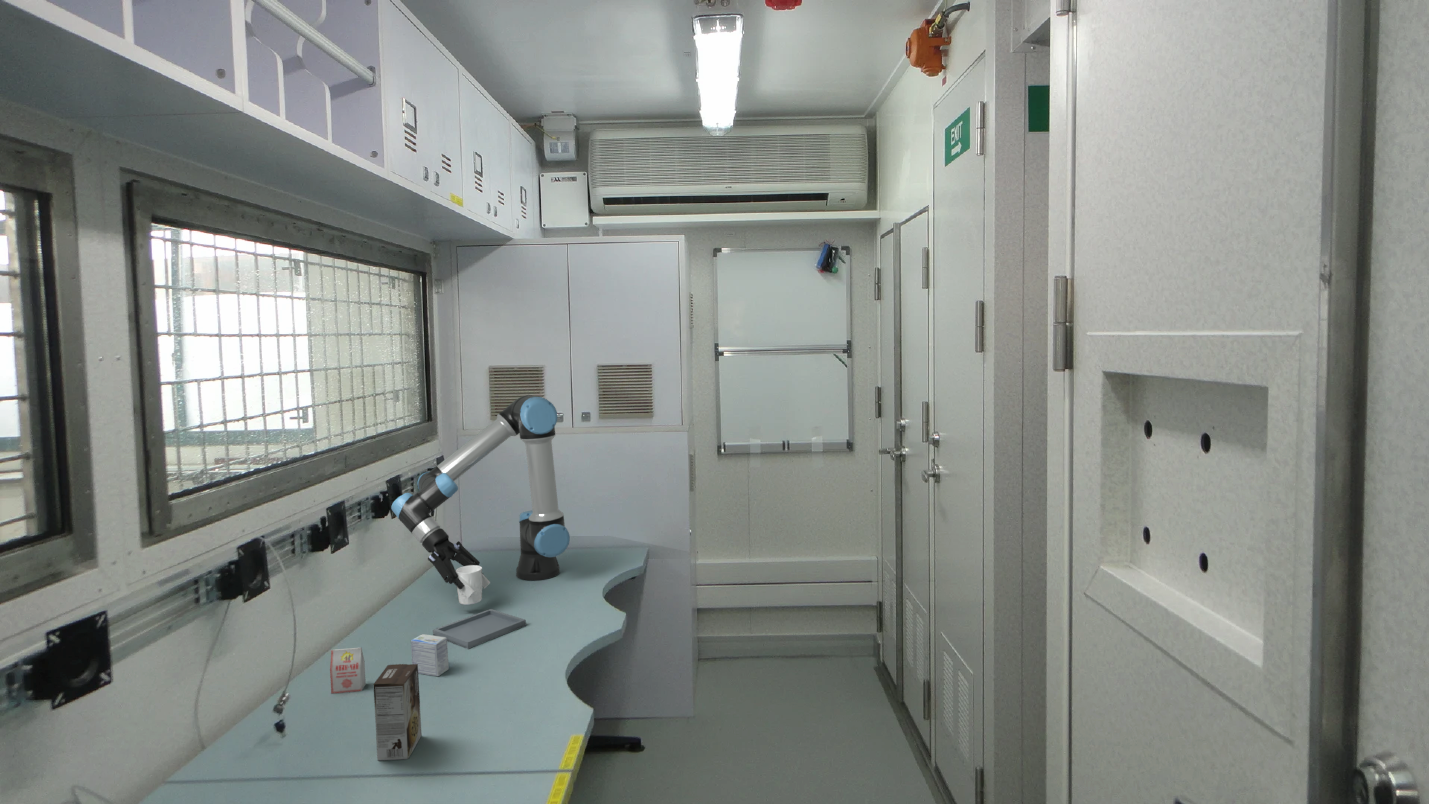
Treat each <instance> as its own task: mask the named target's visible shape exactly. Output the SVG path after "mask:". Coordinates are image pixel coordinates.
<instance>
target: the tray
mask: <svg viewBox="0 0 1429 804" xmlns="http://www.w3.org/2000/svg"><path fill="white" fill-rule="evenodd" d="M526 621H527V620H526V619H524V618H521V617H518V616H515V615H512V614H509V613H506V612H502V611H499V610H496V609H492V608H490V609H487V610H484V611H481V612H479V613H475V614H472V615H470V616H467V617H465V618H461V619H458V620H456V621H453V622H450V623H448V624H445V625H442V626H439V627H436V628H434V629H432V635H433V636H440V637H446V638H447V643H451V644H453V645H456V646H459V647H461V648H464V649H467V650H469V649H471V648H474V647H476V646H479V645H481V644H484V643H487V642H489V641H491V640H493V639H496V638H499V637H501V636H503V635H506V634H509V633H511V632H514V631H516V630H518V629H519V630H520V629H521V628H524V627H526V625H527V622H526Z"/></svg>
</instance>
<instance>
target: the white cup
mask: <svg viewBox="0 0 1429 804" xmlns="http://www.w3.org/2000/svg"><path fill="white" fill-rule="evenodd" d="M455 571H456V573H457V575H458V577H459V576H461V577H462V578H463V579H464V580H465V581H466V582H467V584H468V585H469V586H470V587H471V588H472V589H473V590H474V591H475V592H474V593H473V594H472V595H471V596H470V597H469V598H467V596H466V595H465V594H464V593H463V592H462V591H461V590H460V589H459V588H458V587H457V586H456V590H457V594H458V595H457V597H458V599H457V600H458V603H459V604H461V605H466V606H467V605H474V604H479V603H480V602H481V601H482V599H483V587H482V573H483V567H482V566H480V565H479V566H477V565H470V566H463V565H462V566H460V567H458V568H456V569H455Z"/></svg>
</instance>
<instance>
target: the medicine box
mask: <svg viewBox="0 0 1429 804" xmlns="http://www.w3.org/2000/svg"><path fill="white" fill-rule="evenodd" d="M410 647H411V648H410V649H411V664H418V674H421V675H426V676H427V675H428V676H434V677H439V676H441V675H443V674H445V673H446V672H447V671H448V670H449V669H450V667H449V651H448V650H449V649H448V641H447V638H446V637H440V636H433V634H425V633H423V634H420V635H417V637H415V638H412V639H411V640H410Z"/></svg>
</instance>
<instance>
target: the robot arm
mask: <svg viewBox="0 0 1429 804" xmlns="http://www.w3.org/2000/svg"><path fill="white" fill-rule="evenodd" d="M558 415H559V414H558V411H557V408H556V407H555V405H554V403H553V402H551V401H550V400H548V399H547V398H545V397H542V396H534V395H531V394H530V395H529V394H528V395H523V396H520V397H518V398H516V399H515V400H513V401H512V402H511V403H510V404H509V405H507V407H505V408H504V409H502V411H500V412H499V413H498V414H497V415H496V419H495V420H493V421H492V422H491V423H489V424H488V426H486V427H485V428H483V429H482V430H480V432H479V433H477V434H476V435H474V436H473V437H472V438H470V439H469V440H468V441H467V442H465V443H464V444H463V445H462V446H460V447H459V448H458V449H457V450H455V451H454V452H453V453H452V454H450V455H449V456H448V457H446V458H445V459H444V460H443V461H441V462H440V463H439V464H437V465H436V466H435V467H434V468H433V469H431V470H429V471H425V472H423V473H422V474H421V475H419V477H418V480H417V484H416V485H417V489H418V492H416V493H414V494H412V493H411V492H405V493H403V494H402V495H400V496H398V497H397V498H396V499H395V500H394V501H393V502H392V505H391V507H390V508H391V511H392V512H393V513H394V514H395V516H396V517H397V519H398V521H400V522H401V523H402V524H403V526H404V527H405V528H406V529H407V530H408V531H409V532H410V533H411V534H412V535H413V536H414V537H415V538H416V540H417V541H418V542H419V543H421V545H422V547H423V548H424V549H425V550H426V551H427V552H428V553H429V554H430V553H431V554H430V555H429V556H428V557H427V560H428V561H429V563H431V564H432V565H433V566H434V568H435V570H436V571H437V572H438V574H439V575H440V577H441V578H442V580H443V581H444V582H445V583H446V584H450V585H452V584H454V585H455V586H456V588H457V587H458V588H459V589H460V590H461V591H462V592H463V593H464V594H465V595H466V596H467V598H469V597H470V596H471V595H472V594H473V593H474V592H475V591H474V590H473V589H472V588H471V587H470V586H469V585H468V584H467V582H466V581H465V580H464V579H463V578H462V577H461V576H459V577H458V575H457V573H456V571H455V570H456V569H455V566H454V564H453V561H455V562H457V563H458V564H459V565H460V566H462V567H463V566H470V565H477V566H480V564H481V562H480V560H478V558H476V557H475V556H474V555H473V554H472V553H470V551H468V549H466V547H464V546H463V544H462V542H461V541H457V542H456V543H453V542H451V541H450V540H449V534H448V533H447V532H446V531H445V530H444V528H441V525H440V524H439V523H438V522H437V520H435V518H434V517H433V516H432V515H431V513H432V512H434V511H435V510H436V509H438V507H440V506H441V505H443V504H444V503H445V502H446V501H447V500H449V499H450V498H452V497H453V495H455V493H457V492H458V491H459V486H458V484H456V482H455V481H456V480H457V479H459V478H460V477H461V476H463V475H464V474H465V473H467V472H468V471H469V470H471V468H473V467H474V466H476V465H477V464H478V463H479V462H480V461H482V460H483V459H484V458H485V457H487V456H488V455H489V454H490V453H492V452H493V451H494V450H495V449H497V448H498V447H499V446H500V445H502V444H503V443H504V442H506V441H507V440H508V439H509V438H511V437H517V436H518V435H519V439H520V440H521V441H522V442H523V443H524V444H525V453H526V461H527V462H526V463H527V469H528V480H529V489H530V491H529V492H530V499H531V508H532V509H531V510H525V511H523V512H521V513H520V515H519V520H518V522H519V539H520V540H519V541H520V543H519V544H520V545H519V546H520V548H519V549H520V556H519V560H518V562H517V563H518V564H517V567H516V569H515V571H516V578H518V579H520V580H525V581H541V580H547V579H551V578H554V577H556V576H558V575H559V574H560V571H561V570H560V569H561V568H560V564H559V561H558V559H557V557H558V556H560V555H561V554H563V553H564V552H565V551H566V549H567V548H568V547H569V545H570V540H571V535H570V532H569V530H568V528H567V527H566V526H565V517H564V516H565V515H564V512H562V511H561V510H560V509H559V502H558V491H557V482H556V473H555V463H554V453H553V452H554V451H553V443H552V440H553V439H554V438H555V437H556V428H555V427H556V425H557V423H558V417H559V416H558ZM490 584H491V581H490V580H489V579H488V578H487V577H486V576H485V574H484V572H482V589H486V588H487V587H488V586H489V585H490Z"/></svg>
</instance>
